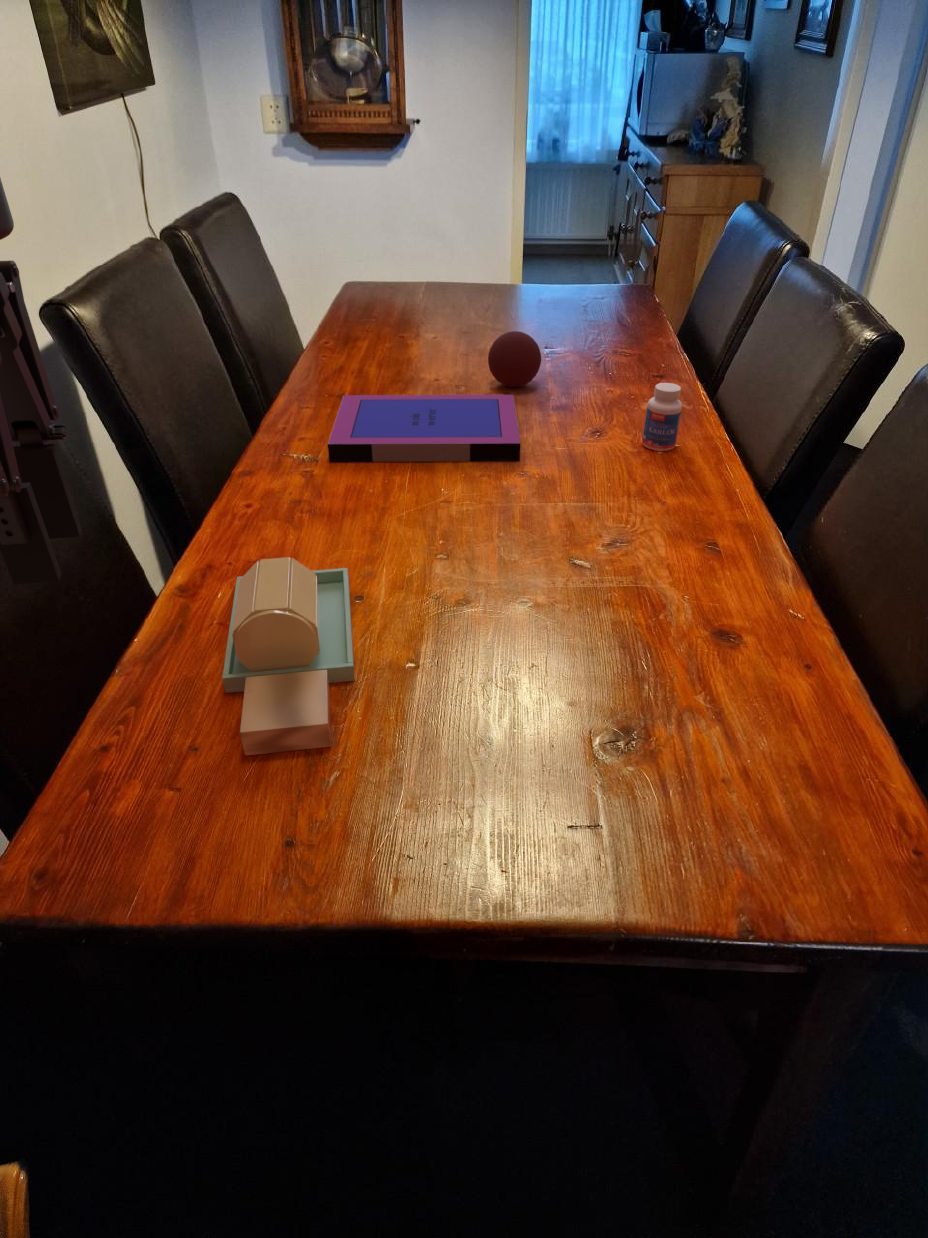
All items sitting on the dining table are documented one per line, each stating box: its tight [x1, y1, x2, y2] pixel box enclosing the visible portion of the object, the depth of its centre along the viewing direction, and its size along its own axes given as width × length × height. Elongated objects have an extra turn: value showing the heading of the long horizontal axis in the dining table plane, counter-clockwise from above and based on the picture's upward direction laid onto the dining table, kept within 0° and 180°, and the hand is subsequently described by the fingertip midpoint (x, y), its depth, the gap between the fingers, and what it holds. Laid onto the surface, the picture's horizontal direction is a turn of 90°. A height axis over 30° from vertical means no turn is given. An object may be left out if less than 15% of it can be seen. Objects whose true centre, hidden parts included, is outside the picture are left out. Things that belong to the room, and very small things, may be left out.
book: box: [327, 394, 521, 463], centre depth 136 cm, size 21×3×30 cm
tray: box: [221, 567, 356, 694], centre depth 91 cm, size 19×13×2 cm
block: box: [239, 670, 332, 756], centre depth 79 cm, size 8×8×3 cm
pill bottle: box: [641, 382, 683, 452], centre depth 130 cm, size 6×5×10 cm
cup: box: [232, 556, 320, 672], centre depth 86 cm, size 8×8×10 cm
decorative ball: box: [487, 330, 542, 388], centre depth 153 cm, size 10×10×10 cm
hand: (49, 556), depth 54 cm, fingers open, 5 cm apart
